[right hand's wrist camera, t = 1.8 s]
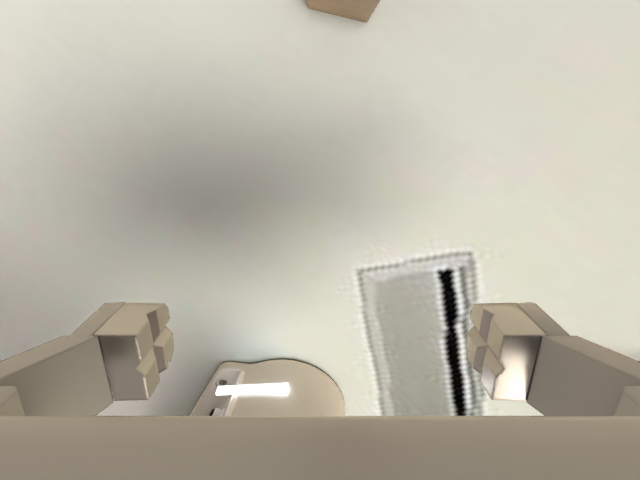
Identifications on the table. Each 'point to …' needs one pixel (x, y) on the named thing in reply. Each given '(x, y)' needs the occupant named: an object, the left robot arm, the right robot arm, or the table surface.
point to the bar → (345, 8)
